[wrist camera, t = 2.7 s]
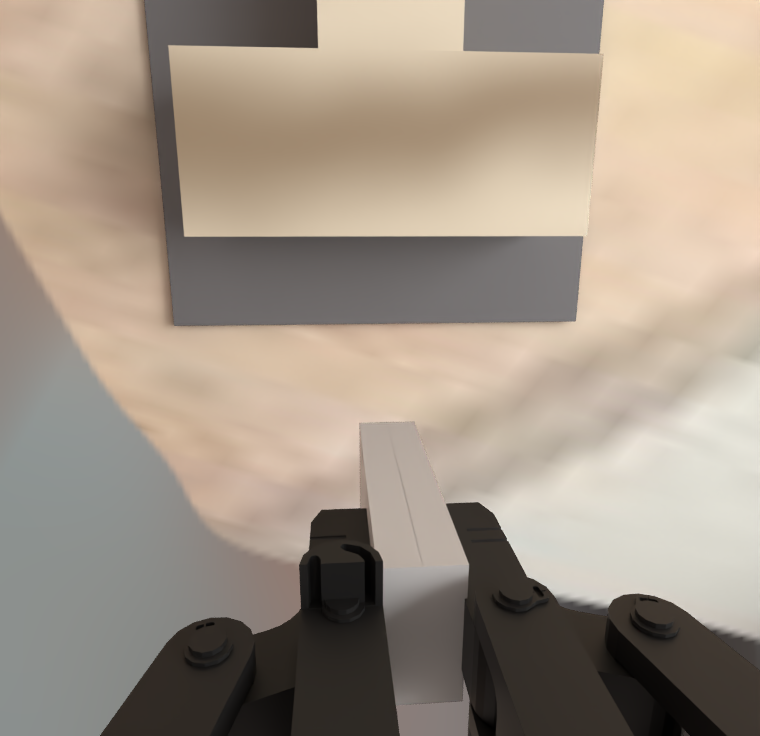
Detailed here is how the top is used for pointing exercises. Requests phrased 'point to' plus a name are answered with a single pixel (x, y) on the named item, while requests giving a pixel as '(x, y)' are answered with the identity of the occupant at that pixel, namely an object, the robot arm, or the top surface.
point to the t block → (384, 131)
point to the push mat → (360, 253)
